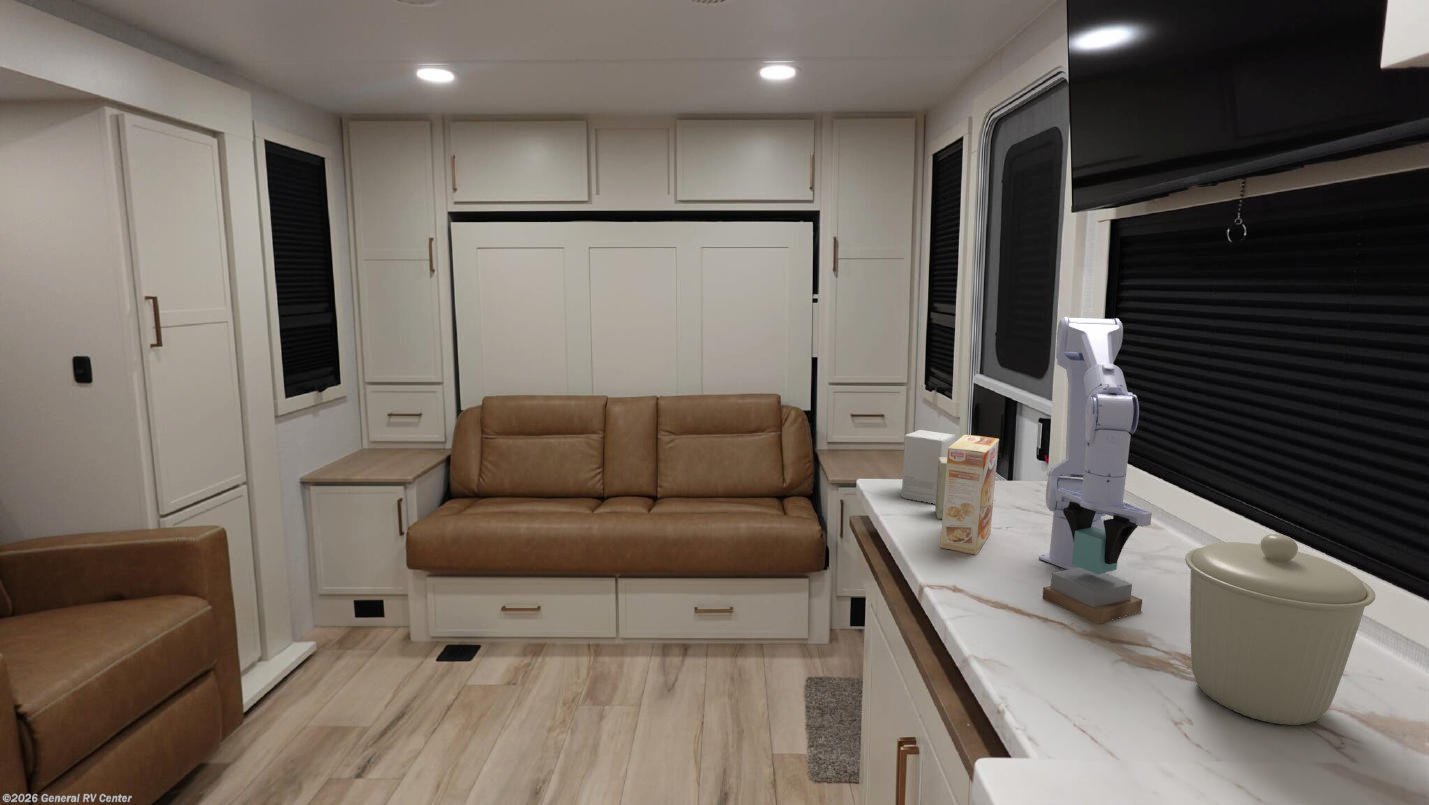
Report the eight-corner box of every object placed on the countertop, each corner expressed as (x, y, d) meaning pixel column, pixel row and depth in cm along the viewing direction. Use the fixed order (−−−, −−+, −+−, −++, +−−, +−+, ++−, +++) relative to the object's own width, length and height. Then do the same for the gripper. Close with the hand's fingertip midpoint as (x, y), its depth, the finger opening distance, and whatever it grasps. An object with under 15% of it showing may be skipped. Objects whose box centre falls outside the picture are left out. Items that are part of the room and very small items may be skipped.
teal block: (1090, 559, 121) (1093, 526, 120) (1116, 569, 117) (1120, 535, 116) (1071, 564, 119) (1075, 530, 118) (1097, 574, 115) (1101, 539, 114)
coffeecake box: (977, 555, 139) (986, 452, 136) (938, 548, 142) (945, 447, 139) (992, 532, 152) (1000, 437, 149) (956, 526, 155) (963, 433, 152)
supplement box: (952, 497, 176) (957, 434, 174) (937, 505, 169) (942, 440, 167) (916, 489, 182) (920, 428, 179) (900, 497, 175) (904, 434, 172)
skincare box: (958, 521, 159) (962, 464, 157) (937, 519, 159) (941, 463, 157) (955, 512, 165) (959, 457, 163) (934, 510, 166) (938, 456, 164)
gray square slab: (1086, 580, 124) (1087, 565, 123) (1130, 599, 116) (1132, 584, 116) (1050, 587, 120) (1051, 572, 120) (1093, 607, 113) (1094, 592, 113)
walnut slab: (1082, 591, 126) (1083, 576, 125) (1140, 614, 117) (1142, 599, 117) (1042, 602, 121) (1043, 587, 120) (1099, 628, 112) (1101, 612, 112)
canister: (1141, 661, 101) (1160, 509, 98) (1278, 665, 101) (1302, 513, 97) (1227, 743, 84) (1253, 561, 80) (1394, 749, 83) (1429, 567, 80)
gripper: (1046, 464, 120) (1038, 546, 122) (1134, 487, 107) (1124, 578, 109) (1075, 460, 123) (1067, 539, 125) (1164, 481, 110) (1153, 570, 113)
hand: (1095, 557), depth 118 cm, fingers closed on teal block, 4 cm apart
